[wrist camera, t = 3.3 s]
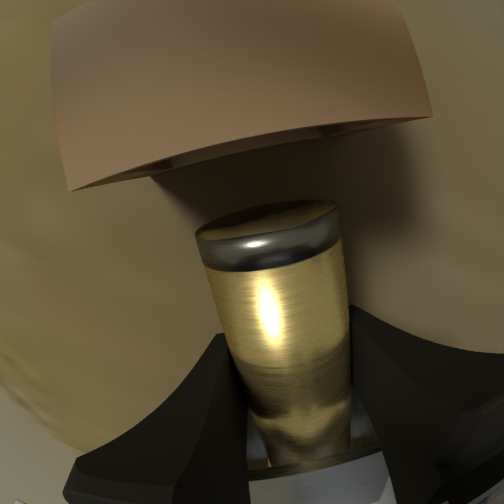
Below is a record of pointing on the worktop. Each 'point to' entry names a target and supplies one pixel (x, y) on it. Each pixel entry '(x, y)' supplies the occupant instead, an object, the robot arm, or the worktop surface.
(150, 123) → the brown rectangular block
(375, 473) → the sleeve
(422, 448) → the robot arm
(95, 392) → the worktop surface
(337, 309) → the tube
